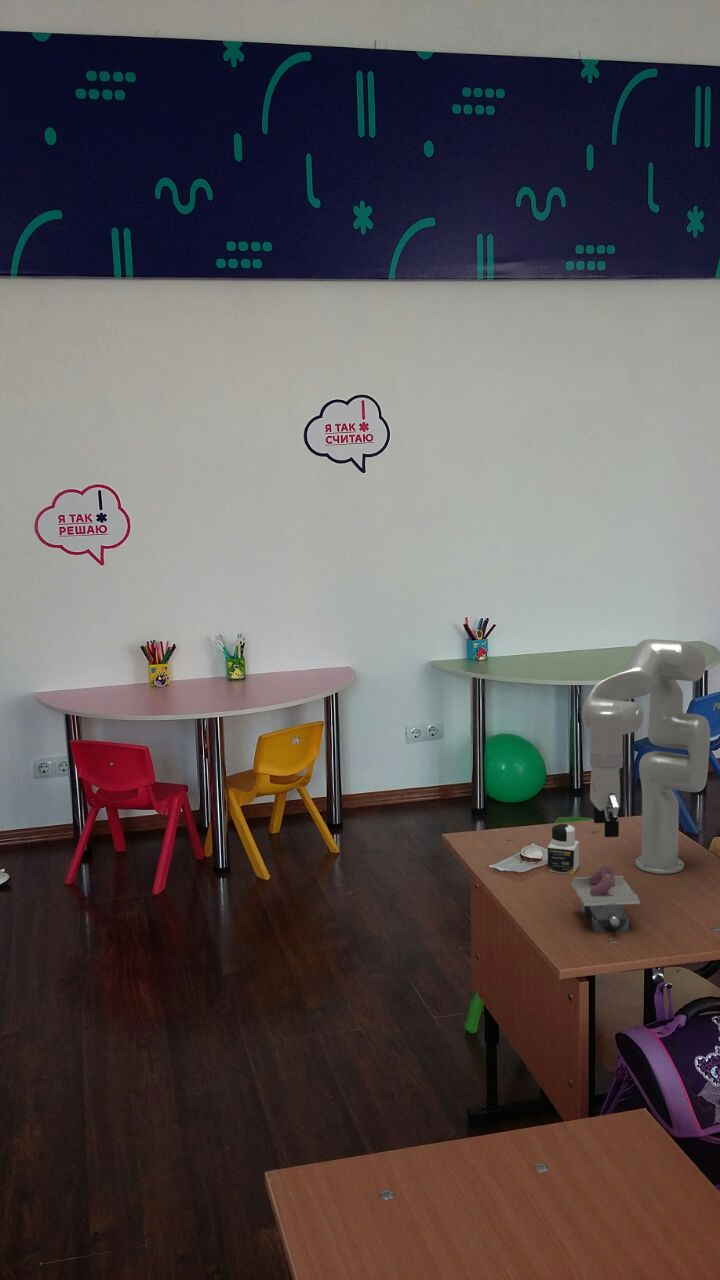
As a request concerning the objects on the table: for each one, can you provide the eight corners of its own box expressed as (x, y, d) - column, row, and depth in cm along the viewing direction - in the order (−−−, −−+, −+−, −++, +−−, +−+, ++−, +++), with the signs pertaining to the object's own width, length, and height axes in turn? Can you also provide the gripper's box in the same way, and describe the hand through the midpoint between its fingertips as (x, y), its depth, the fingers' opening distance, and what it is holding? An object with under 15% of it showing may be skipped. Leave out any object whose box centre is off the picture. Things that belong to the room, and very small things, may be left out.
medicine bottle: (547, 871, 298) (547, 828, 296) (553, 862, 304) (553, 820, 303) (573, 874, 295) (574, 831, 293) (579, 865, 302) (579, 823, 300)
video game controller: (606, 904, 260) (620, 879, 258) (588, 895, 260) (602, 870, 259) (604, 889, 269) (618, 864, 268) (587, 880, 270) (601, 856, 268)
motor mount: (571, 910, 271) (571, 877, 270) (623, 908, 272) (624, 875, 271) (587, 938, 256) (587, 902, 254) (643, 935, 256) (643, 900, 255)
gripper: (581, 750, 268) (581, 818, 271) (599, 770, 251) (599, 843, 254) (612, 749, 268) (611, 817, 271) (632, 769, 251) (632, 841, 254)
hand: (606, 829), depth 262 cm, fingers open, 9 cm apart
